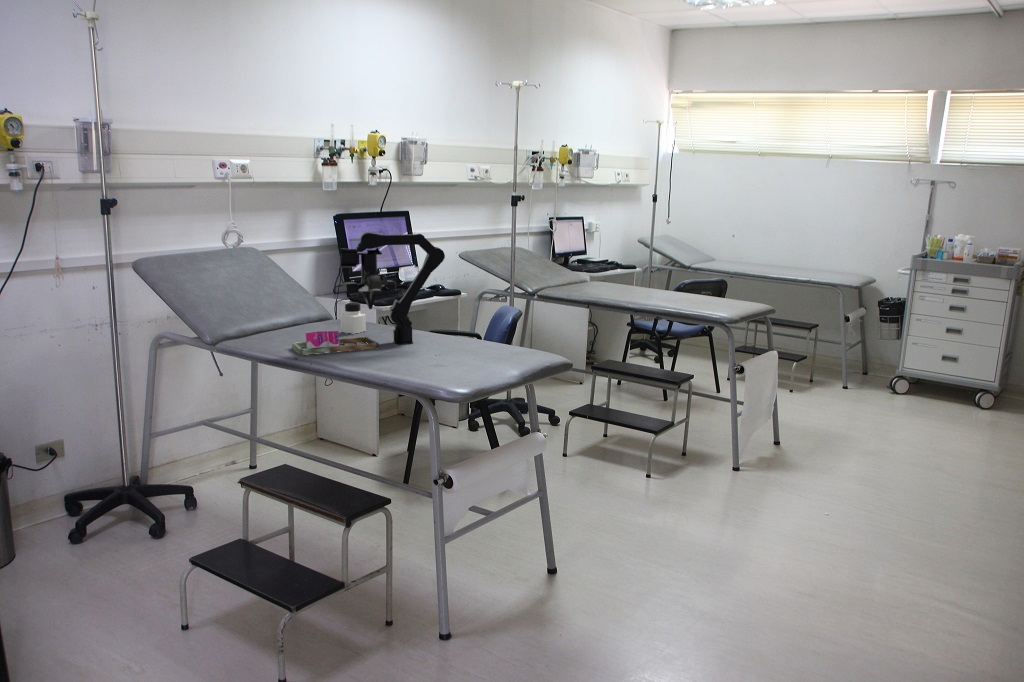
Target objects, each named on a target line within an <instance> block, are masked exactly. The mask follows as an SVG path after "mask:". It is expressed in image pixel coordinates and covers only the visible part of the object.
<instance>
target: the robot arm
mask: <svg viewBox="0 0 1024 682" xmlns="http://www.w3.org/2000/svg"><path fill="white" fill-rule="evenodd" d="M359 238H360V240H359V243H358V245H357V246H356V247H355V248H344V247H343V248H340V268H357V265H358V266H359V265H360V266H361V267H360V272H361V280H360V283H357V282H354V281H349V282H347V281H346V282H344V283H343V284H342V290H343V291H344V292H349V293H351V292H357V291H358V292H359V293H361V294H362V296H363V299H364V301H365V303H366V305H367V307H368V309H369V310H373V306H374V303H375V300H376V297H377V296H378V294H379V293H382V289H383V288H386V289H388V290H396V289H397V283H396V281H394V280H391V279H388V276H387V275H386V274H381V275H380V273H379V270H378V255H380V256H381V255H383V252H382V251H380V249H379V247H380V248H381V247H384V246H409V245H410V246H411V245H412V246H413V245H417V246H419V247H420V248H421V249H422V250H423V251H424V252H425V254H426V255H425V259H424V261H423V263H422V267H421V268H420V269H419V271H418V273H417V274H416V276H415V277H414V279H413V281H412V282H411V283H410V285H409V287H408V289H407V290H406V292H404V295H403V296H402V297H401V298H400V299H399V300H397V299H394V301H393V304H392V305H391V306H389V317H390V319H391V321H392V322H393V323H394V324H396V325H394V329H393V330H392V331H393V332H392V333H393V334H392V335H393V336H392V337H393V342H394V343H395V345H400V344H403V345H405V344H407V345H408V344H414V341H413V326H412V325H413V322H412V319H411V318H410V317H409V316H408V314H409V312H410V310H411V305H412V304H413V303H414V300H415V299H416V298H417V296H418V294H419V293H420V291H421V290H422V288H423V286H424V285H425V284H426V282H427V280H428V278H429V277H430V276H431V273H432V272H434V271H435V270H436V269H437V268H438V267H439V266H440V265H441V264H442V263H443V262H444V261H445V258H446V256H445V251H444V250H442V249H441V248H440V247H438V246H434V245H433V244H432V243H431V242H430V241H429V240H428V239H427V238H426V236H425V235H424V234H422V233H414V234H411V233H410V234H409V233H408V234H384V233H383V234H381V233H377V232H372V231H366V232H363V233H362V234H361V236H360V237H359ZM365 250H366V252H364V251H365Z"/></svg>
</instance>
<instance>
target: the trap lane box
mask: <svg viewBox="0 0 1024 682" xmlns="http://www.w3.org/2000/svg"><path fill="white" fill-rule="evenodd" d="M366 342H367V343H368V344H367V343H366ZM342 343H343V344H344V345H346V346H344V345H343V344H342ZM355 343H356V344H358V345H356V344H355ZM339 344H342V345H340V346H337V347H325V348H314V349H307V348H306V349H305V348H302V347H307V343H306V341H298V342H297V341H296V342H291V349H292V350H293V349H294V350H293V351H294V352H296V354H298V355H299V356H300V355H301V356H300V357H304V356H303V355H306V356H310V355H309V354H315V353H325V352H337V351H349V352H351V351H350V350H360V351H362V350H361V349H371V350H377V349H376V348H379V349H380V344H379V342H377V341H375V340H374V339H372V338H371V337H369V336H358V337H346V338H339Z"/></svg>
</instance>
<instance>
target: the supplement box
mask: <svg viewBox="0 0 1024 682" xmlns="http://www.w3.org/2000/svg"><path fill="white" fill-rule="evenodd" d="M339 339H340V336H339V330H327V331H326V330H325V331H324V330H323V331H312V332H306V333H305V342H306V343H307V348H306V349H314V348H325V347H337V346H341V345H340V344H339Z"/></svg>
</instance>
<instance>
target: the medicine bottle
mask: <svg viewBox="0 0 1024 682" xmlns="http://www.w3.org/2000/svg"><path fill="white" fill-rule="evenodd" d="M339 316H340V317H339V318H340V333H341V332H345V333H344V334H348V333H351V334H350V335H356V334H355V333H358V334H361V333H360V332H362V333H364V332H363V331H367V327H366V326H367V325H366V323H367V322H366V314H365V313H363V314H362V313H361V303H360V302H357V301H348V302H346V303H344V314H341V315H339Z"/></svg>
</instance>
